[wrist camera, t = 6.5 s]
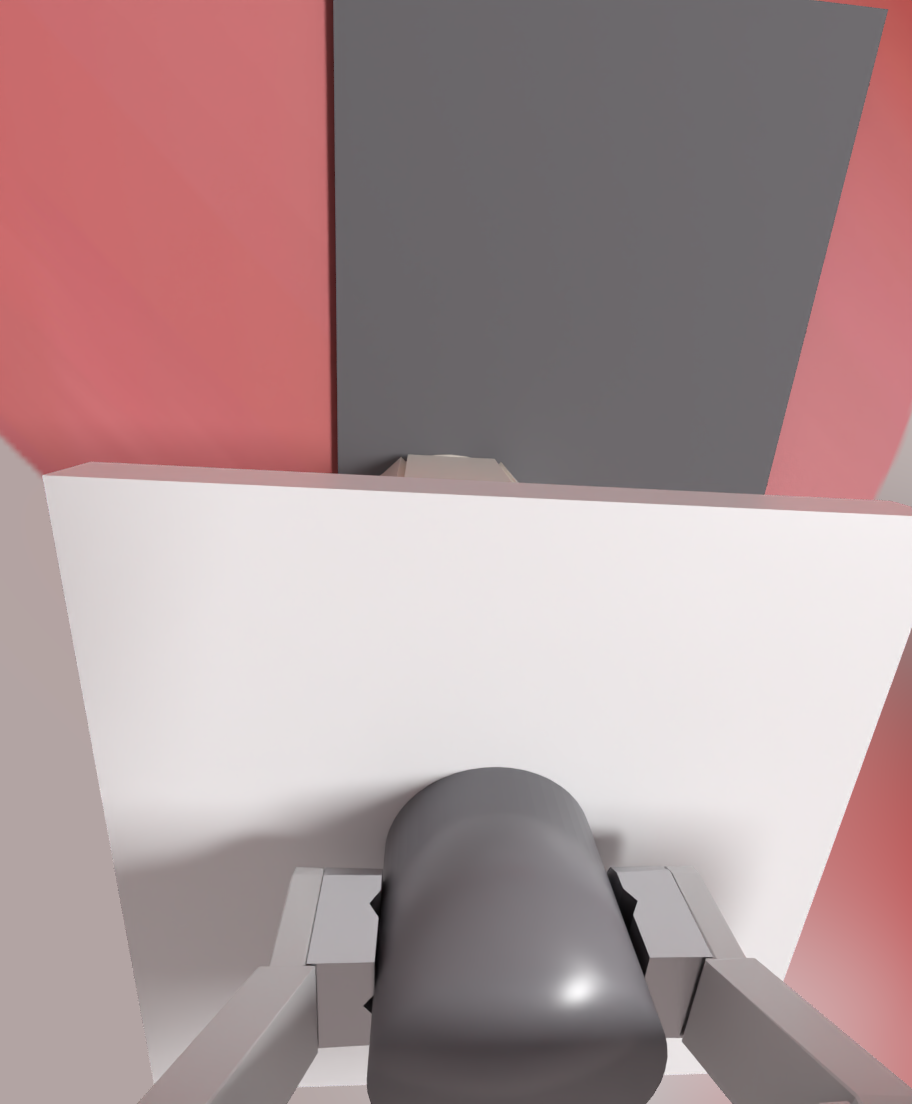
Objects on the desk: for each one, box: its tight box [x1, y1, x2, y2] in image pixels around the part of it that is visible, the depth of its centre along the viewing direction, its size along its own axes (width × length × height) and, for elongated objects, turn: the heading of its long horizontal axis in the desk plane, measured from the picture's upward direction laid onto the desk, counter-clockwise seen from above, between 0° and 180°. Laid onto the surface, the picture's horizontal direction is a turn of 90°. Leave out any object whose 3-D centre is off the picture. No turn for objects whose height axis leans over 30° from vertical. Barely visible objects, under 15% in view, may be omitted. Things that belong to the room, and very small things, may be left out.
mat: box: [333, 0, 888, 495], centre depth 22 cm, size 20×20×1 cm
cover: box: [42, 462, 912, 1104], centre depth 9 cm, size 14×14×5 cm
